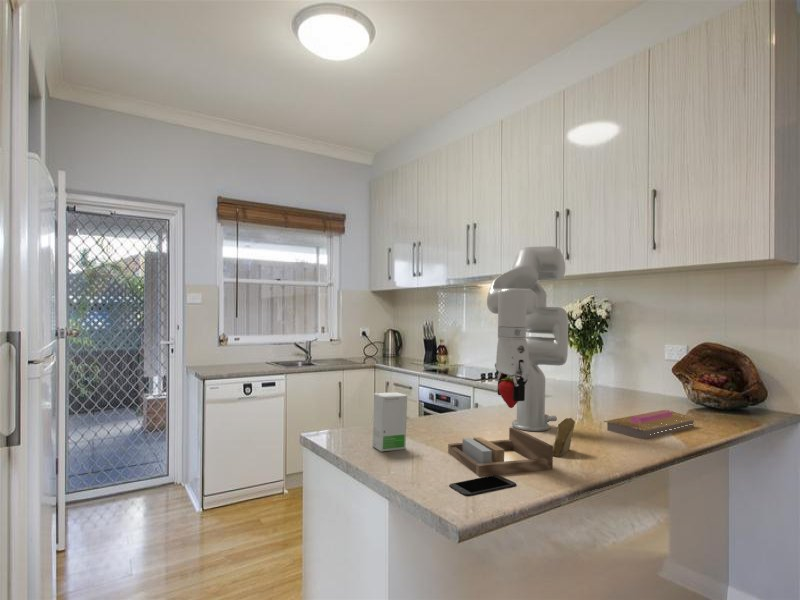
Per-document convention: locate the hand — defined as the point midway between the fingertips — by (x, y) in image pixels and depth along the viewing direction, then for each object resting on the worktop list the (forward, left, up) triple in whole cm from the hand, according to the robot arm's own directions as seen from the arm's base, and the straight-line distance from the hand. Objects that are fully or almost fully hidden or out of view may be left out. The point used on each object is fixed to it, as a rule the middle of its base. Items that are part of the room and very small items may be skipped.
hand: (510, 397), depth 128 cm
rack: (+4, 0, -17) cm, 17 cm away
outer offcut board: (+10, 0, -17) cm, 20 cm away
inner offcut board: (+7, 0, -17) cm, 18 cm away
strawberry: (0, 0, -3) cm, 3 cm away
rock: (-18, -3, -17) cm, 25 cm away
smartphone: (+16, +15, -17) cm, 28 cm away
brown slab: (-68, -18, -18) cm, 72 cm away
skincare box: (+29, -18, -17) cm, 38 cm away
